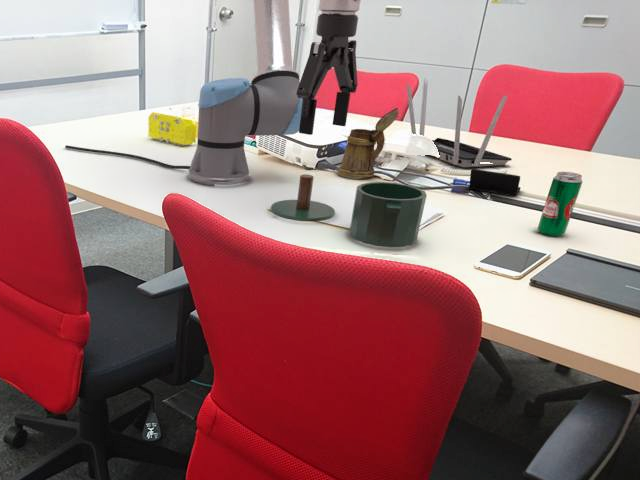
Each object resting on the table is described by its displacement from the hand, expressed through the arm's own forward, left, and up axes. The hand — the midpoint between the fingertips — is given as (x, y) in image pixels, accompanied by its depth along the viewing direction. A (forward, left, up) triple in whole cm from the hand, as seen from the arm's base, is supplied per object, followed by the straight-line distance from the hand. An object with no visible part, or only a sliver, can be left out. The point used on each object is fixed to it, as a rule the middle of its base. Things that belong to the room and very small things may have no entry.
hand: (322, 129), depth 135 cm
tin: (+14, -14, -17) cm, 27 cm away
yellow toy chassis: (-45, +62, -18) cm, 78 cm away
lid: (-2, -2, -17) cm, 17 cm away
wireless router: (+38, +64, -18) cm, 76 cm away
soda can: (+48, -1, -18) cm, 51 cm away
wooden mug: (+12, +35, -18) cm, 41 cm away
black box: (+43, +30, -18) cm, 55 cm away
